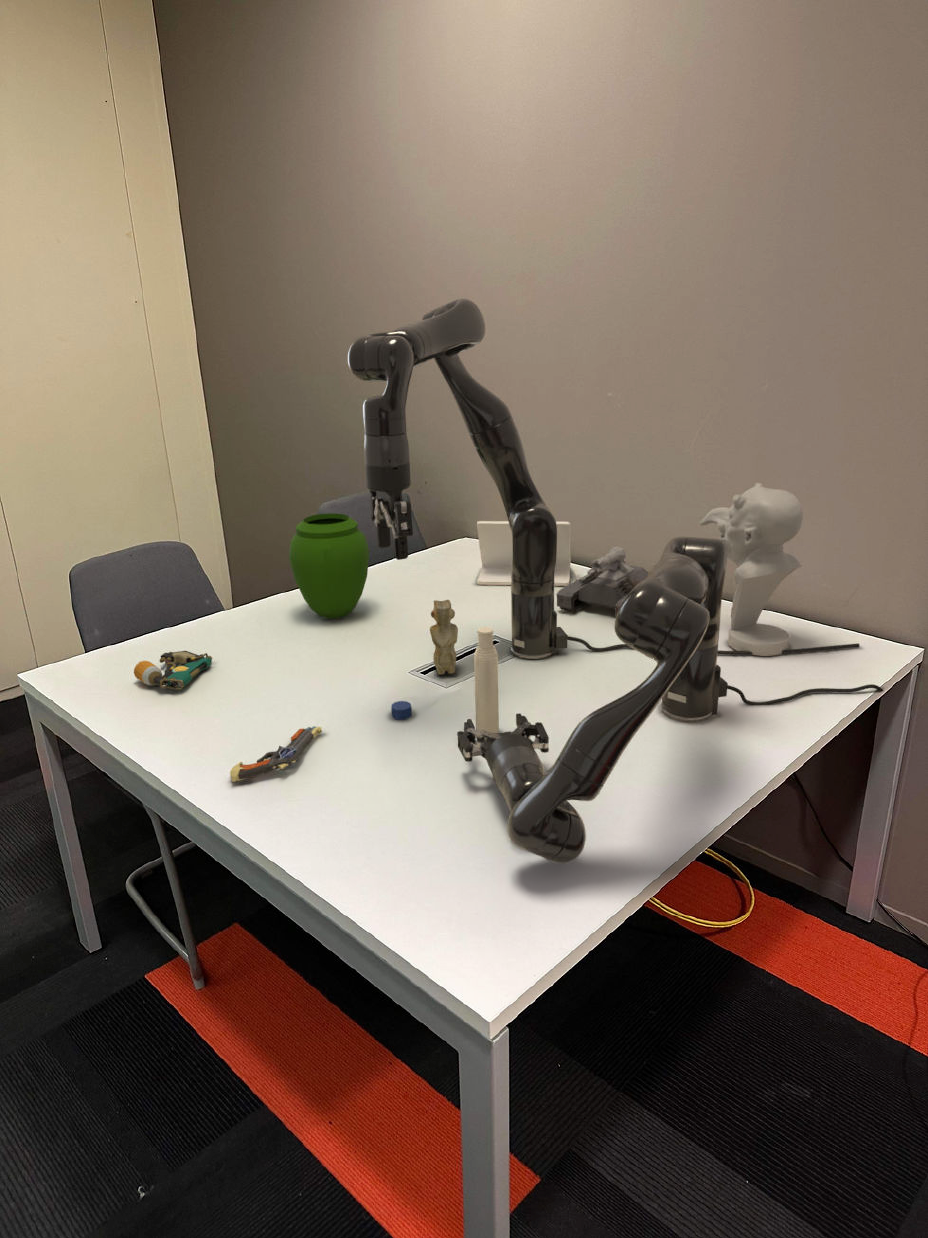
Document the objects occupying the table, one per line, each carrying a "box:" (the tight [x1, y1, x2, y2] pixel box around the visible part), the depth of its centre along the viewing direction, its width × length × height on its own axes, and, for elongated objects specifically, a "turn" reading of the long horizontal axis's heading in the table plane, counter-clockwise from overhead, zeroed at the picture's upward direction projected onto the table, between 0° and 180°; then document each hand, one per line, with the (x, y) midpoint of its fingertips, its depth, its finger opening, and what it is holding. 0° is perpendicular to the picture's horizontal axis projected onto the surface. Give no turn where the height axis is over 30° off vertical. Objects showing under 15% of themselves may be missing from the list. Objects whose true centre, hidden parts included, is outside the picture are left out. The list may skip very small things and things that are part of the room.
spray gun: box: [133, 650, 213, 690], centre depth 180 cm, size 4×17×15 cm
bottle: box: [473, 626, 500, 740], centre depth 149 cm, size 4×4×20 cm
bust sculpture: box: [699, 482, 804, 657], centre depth 185 cm, size 16×24×35 cm
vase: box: [288, 512, 370, 620], centre depth 209 cm, size 20×20×24 cm
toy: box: [556, 546, 649, 619], centre depth 212 cm, size 25×20×15 cm
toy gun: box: [229, 725, 323, 782], centre depth 147 cm, size 3×19×10 cm
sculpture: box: [429, 599, 459, 675], centre depth 177 cm, size 6×7×15 cm
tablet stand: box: [476, 520, 572, 587], centre depth 236 cm, size 18×25×17 cm
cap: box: [390, 700, 413, 721], centre depth 161 cm, size 4×4×2 cm
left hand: (392, 552), depth 150 cm, fingers open, 8 cm apart
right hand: (493, 721), depth 144 cm, fingers open, 8 cm apart
